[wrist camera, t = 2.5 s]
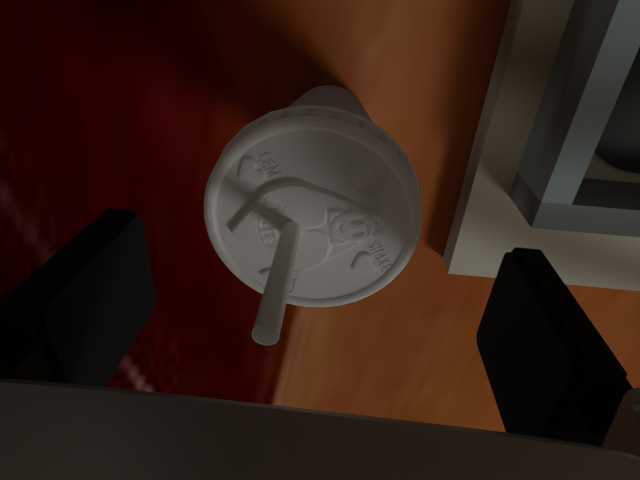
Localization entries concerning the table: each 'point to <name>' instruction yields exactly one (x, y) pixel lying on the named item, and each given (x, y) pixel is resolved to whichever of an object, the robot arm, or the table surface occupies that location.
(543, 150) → the holder
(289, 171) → the smoothie
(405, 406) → the table surface
